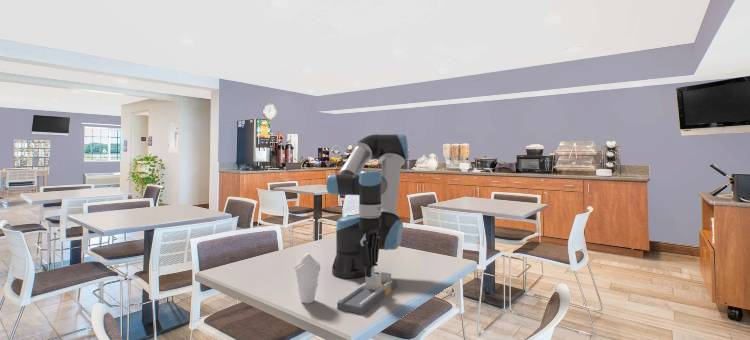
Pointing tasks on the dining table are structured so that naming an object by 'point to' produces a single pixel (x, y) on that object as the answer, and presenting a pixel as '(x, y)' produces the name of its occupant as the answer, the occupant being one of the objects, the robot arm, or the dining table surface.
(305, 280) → the soft serve ice cream cone
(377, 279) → the fader tab
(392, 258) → the dining table surface
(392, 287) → the slider track
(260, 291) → the dining table surface
